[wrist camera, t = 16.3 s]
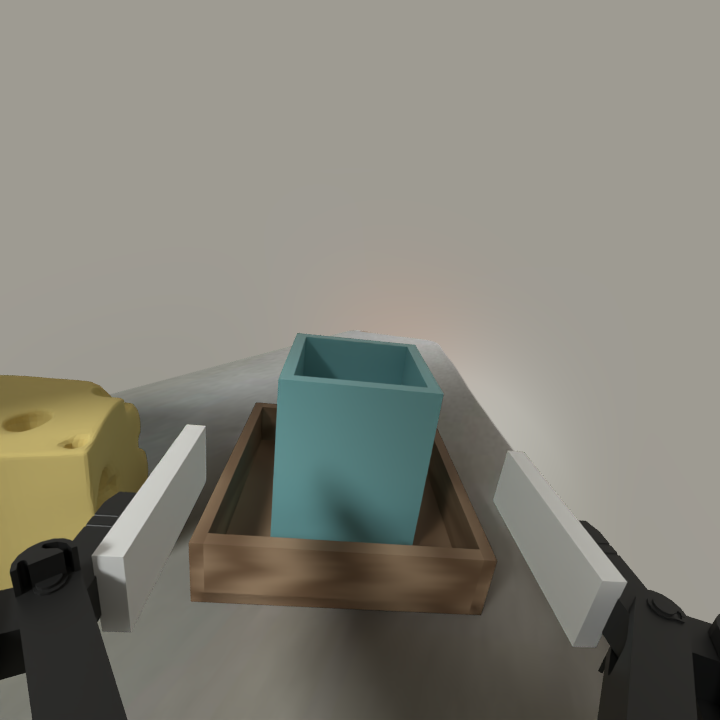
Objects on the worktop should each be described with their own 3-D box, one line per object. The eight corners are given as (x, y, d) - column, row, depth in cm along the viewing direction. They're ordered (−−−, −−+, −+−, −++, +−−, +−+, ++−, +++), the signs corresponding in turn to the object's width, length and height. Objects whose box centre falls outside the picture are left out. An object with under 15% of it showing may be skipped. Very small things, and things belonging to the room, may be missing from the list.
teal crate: (270, 544, 27) (278, 379, 23) (289, 460, 37) (297, 333, 32) (411, 552, 28) (443, 394, 24) (393, 468, 37) (415, 344, 33)
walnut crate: (190, 601, 23) (188, 542, 22) (254, 441, 40) (256, 402, 39) (480, 615, 25) (497, 561, 23) (424, 454, 42) (432, 417, 40)
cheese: (149, 484, 33) (141, 374, 29) (108, 600, 23) (89, 455, 20) (-2, 493, 30) (-30, 372, 26) (-123, 631, 20) (-191, 467, 17)
